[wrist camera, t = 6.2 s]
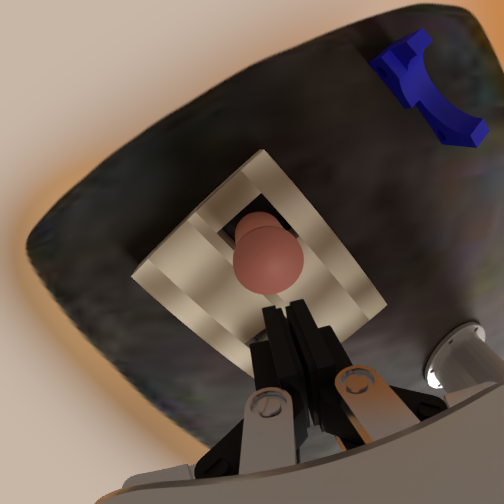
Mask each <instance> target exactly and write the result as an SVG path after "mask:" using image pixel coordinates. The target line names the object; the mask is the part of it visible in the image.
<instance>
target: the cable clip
mask: <svg viewBox="0 0 504 504" xmlns="http://www.w3.org/2000/svg"><path fill="white" fill-rule="evenodd" d="M432 41H433V40H432V39H431V38H430V37H429V35H428V34H427V33H426V32H425V30H424V29H423V28H422V29H420V30H417V31H415V32H413V33H411V34H409V35H407V36H405V37H403V38H401V39H399V40H397V41H395V42H393V43H391V44H390V45H389V46H388V47H387V48H386V49H384V50H383V51H382V52H381V53H380V54H378V55H377V56H376V57H375V58H374V59H373V60H371V61H370V62H369V63H368V64H369V65H370V66H371V67H372V69H373V70H374V71H375V72H376V73H377V74H378V76H379V77H380V78H381V79H382V80H383V81H384V83H385V84H386V85H387V86H388V87H389V89H390V90H391V91H392V92H393V94H394V95H395V96H396V97H397V99H398V100H399V101H400V103H401V104H402V105H403V107H404V108H405V109H406V108H412V107H413V106H414V105H416V106H417V107H418V109H419V110H420V112H421V113H422V114H423V116H424V117H425V119H426V120H427V122H428V123H429V125H430V126H431V128H432V129H433V131H434V132H435V134H436V135H437V137H438V139H439V140H440V142H441V143H442V144H444V145H455V146H465V147H474V148H477V147H478V146H479V144H480V143H481V142H482V140H483V139H484V137H485V136H486V135H487V133H488V132H489V129H488V127H487V125H486V123H485V121H484V119H483V118H476V117H473V116H470V115H468V114H466V113H464V112H462V111H461V110H459V109H457V108H456V107H455V106H453V105H452V104H451V103H450V102H449V101H448V100H446V99H445V98H444V97H443V95H442V94H441V93H440V92H439V91H438V90H437V88H436V87H435V86H434V84H433V83H432V81H431V80H430V78H429V76H428V74H427V72H426V69H425V66H424V62H423V52H424V49H425V48H426V47H427V46H428V45H429V44H430V43H431V42H432Z"/></svg>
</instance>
